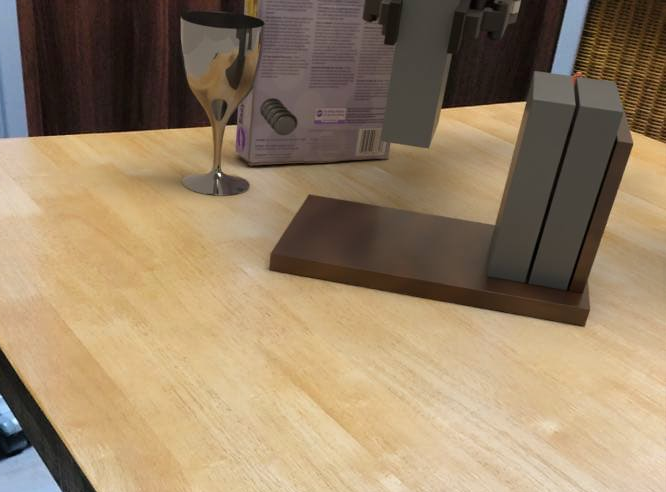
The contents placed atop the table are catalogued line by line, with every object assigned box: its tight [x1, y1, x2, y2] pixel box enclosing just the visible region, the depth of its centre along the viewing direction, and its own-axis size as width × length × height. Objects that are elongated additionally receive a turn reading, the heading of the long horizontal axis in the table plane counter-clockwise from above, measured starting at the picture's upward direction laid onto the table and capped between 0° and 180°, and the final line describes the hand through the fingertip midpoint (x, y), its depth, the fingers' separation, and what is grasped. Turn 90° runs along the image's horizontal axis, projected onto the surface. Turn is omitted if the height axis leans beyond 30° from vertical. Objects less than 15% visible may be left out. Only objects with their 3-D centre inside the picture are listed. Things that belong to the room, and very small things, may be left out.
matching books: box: [487, 70, 625, 290], centre depth 72 cm, size 7×10×14 cm
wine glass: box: [179, 10, 265, 196], centre depth 86 cm, size 8×8×15 cm
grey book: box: [380, 0, 460, 150], centre depth 68 cm, size 4×8×15 cm, turn 166°
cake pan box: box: [234, 0, 396, 166], centre depth 94 cm, size 19×5×18 cm, turn 113°
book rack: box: [269, 110, 634, 327], centre depth 75 cm, size 27×16×14 cm, turn 76°
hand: (423, 28), depth 63 cm, fingers closed on grey book, 4 cm apart
